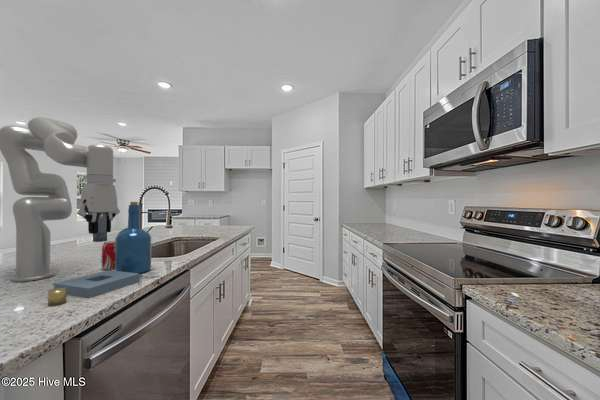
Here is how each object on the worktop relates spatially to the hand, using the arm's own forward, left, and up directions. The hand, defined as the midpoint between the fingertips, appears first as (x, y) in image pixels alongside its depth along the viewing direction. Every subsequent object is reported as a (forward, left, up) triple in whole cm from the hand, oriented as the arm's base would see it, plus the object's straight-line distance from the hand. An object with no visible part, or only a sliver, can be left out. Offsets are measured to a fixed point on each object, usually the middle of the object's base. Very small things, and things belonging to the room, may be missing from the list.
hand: (99, 232), depth 94 cm
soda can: (-21, +20, -19) cm, 35 cm away
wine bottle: (-7, +19, -19) cm, 28 cm away
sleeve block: (0, 0, -19) cm, 19 cm away
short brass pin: (+4, -15, -19) cm, 25 cm away
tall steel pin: (0, 0, -3) cm, 3 cm away
